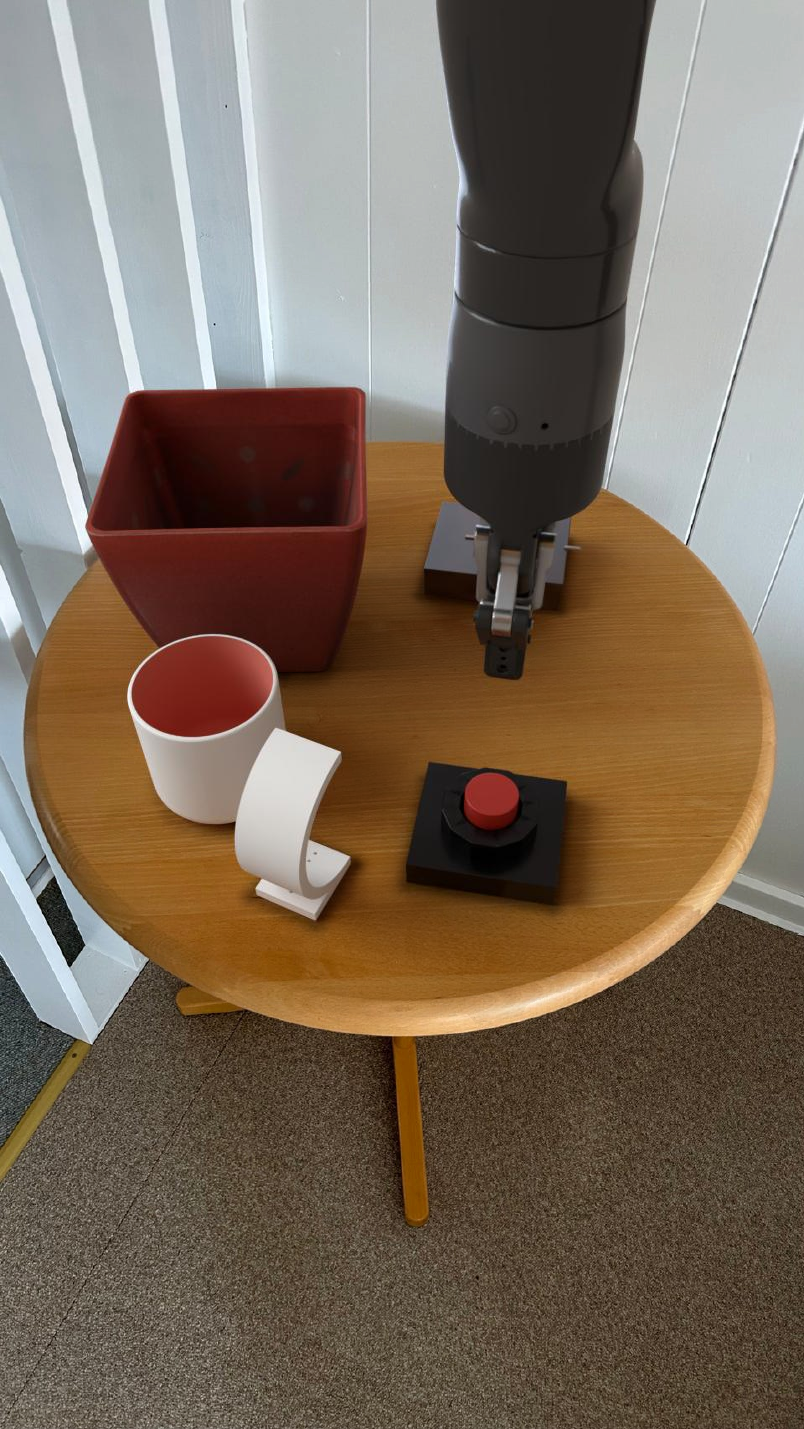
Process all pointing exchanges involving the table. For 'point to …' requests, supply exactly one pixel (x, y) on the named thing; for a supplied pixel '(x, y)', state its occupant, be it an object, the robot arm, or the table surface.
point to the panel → (457, 570)
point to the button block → (488, 838)
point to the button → (491, 801)
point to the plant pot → (238, 516)
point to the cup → (204, 721)
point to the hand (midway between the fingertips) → (504, 669)
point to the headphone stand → (288, 824)
